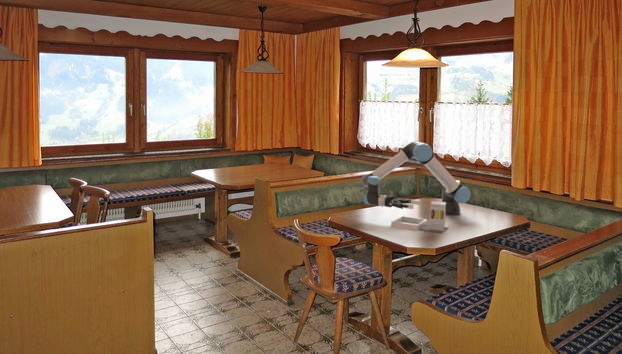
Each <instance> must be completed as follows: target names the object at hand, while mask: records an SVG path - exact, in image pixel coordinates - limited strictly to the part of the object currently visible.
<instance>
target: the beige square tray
mask: <svg viewBox="0 0 622 354" xmlns="http://www.w3.org/2000/svg"><path fill="white" fill-rule="evenodd" d="M405 222H410V223H405ZM411 223H416V224H411ZM427 224H428V219H427V218H426V219H425V218H419V217H414V216H413V217H412V216H411V217H410V216H407V215H405V216H404V215H401V216H399V217H397V218H395V219H394V220H392V221H391V223H390V226H391V227H395V228H399V229H400V228H401V229H406V230H407V229H408V230H412V231H413V230H415V231H418V230H420V229H421V228H422V227H424V225H427Z"/></svg>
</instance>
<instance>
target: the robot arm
mask: <svg viewBox="0 0 622 354" xmlns="http://www.w3.org/2000/svg"><path fill="white" fill-rule="evenodd" d="M414 159H415V160H416V161H417V162H418V164H420V165H421V166H425V167H426V169H427V170H429V172H430V173H431V174H432V175H433V176H434V177H435V178H436V180H438V181H439V182H440V184H441V185H442V191H441V193H442V194H441V202H446V211H445V215H452V216H453V215H454V216H455V215H459V214H461V208H460V207H461V206H460V204H465V203H467V202H468V201H469V200H470V198H471V191H470V189H469V188H468V187H466V186H464V185H463V183H462V182H461V181H460V180H456V179H455V178H454V176H452V175H451V174H450V173H449V171H448V170H447V169H446V168H445V167H444V166H443V165H442V163H440V161H439V160H438V159H437V158H436V157H435V153H434V152H433V149H432V147H431V146H430V145H429V144H427V143H426V142H420V141H412V142H409V143H408V144H406V145H405V146H404V147H403V148H401V149H400V150H399V151H398V153H396V154H395V155H394V156H393V157H391V158H390V159H388V160H387V161H385V162H384V163H382V164H381V165H380V166H378V167H377V168H376V169H375V170H373V171H372V172H370V173H369V174H367V175H363V176H362V177H361V179H360V183H361V184H362V186H364V187H365V188H367V192H366V193H364V196H363V203H364V204H365V205H369V206H379V207H382V208H383V207H386V208H392V207H393V208H394V207H395V208H396V209H401V210H403V209H411V210H414V205H417V206H421V205H422V203H421V202H422V201H421V200H417V199H412V198H411V197H410V198H394V196H393V195H386V194H380V193H379V191H380V180H382V179H383V178H385V177H386V176H388V175H389V174H390V173H392V172H393V171H394V170H395V169H397V168H399V166H401V165H403V164H404V163H405V162H409V161H410V160H414Z"/></svg>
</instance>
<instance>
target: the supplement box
mask: <svg viewBox="0 0 622 354" xmlns="http://www.w3.org/2000/svg"><path fill="white" fill-rule="evenodd" d="M429 207H430V208H429V222H428V225H429V230H438V231H444V227H446V226H445V225H446V223H445V222H446V214H445V211H446V202H442V201H434V200H431V202H430V206H429ZM444 232H445V231H444Z"/></svg>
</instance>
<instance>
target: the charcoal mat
mask: <svg viewBox="0 0 622 354" xmlns="http://www.w3.org/2000/svg"><path fill="white" fill-rule="evenodd" d="M448 229H449V227H447V226H444V231H438V230H429V223H427V224H426V225H425V226H423V227H421V228H420V229H419V231H423V230H424V232H429V231H430V232H431V233H436V232H437V233H436V234H443V233H444V232H446V230H448Z"/></svg>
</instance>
